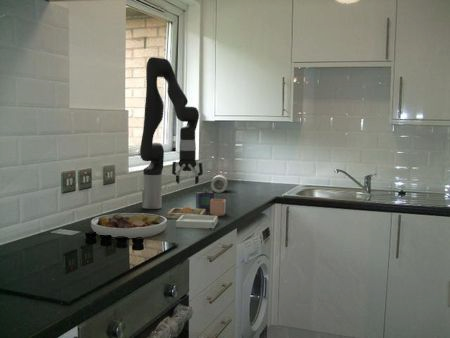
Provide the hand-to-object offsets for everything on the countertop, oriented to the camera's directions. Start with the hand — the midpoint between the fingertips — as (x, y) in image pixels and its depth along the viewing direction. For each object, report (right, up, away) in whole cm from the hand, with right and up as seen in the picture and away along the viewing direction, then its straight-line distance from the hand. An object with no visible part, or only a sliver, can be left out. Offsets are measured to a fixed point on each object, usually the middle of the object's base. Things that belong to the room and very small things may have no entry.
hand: (187, 183), depth 232 cm
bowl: (-21, -19, -32) cm, 43 cm away
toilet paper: (+14, -8, +81) cm, 83 cm away
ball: (0, -13, +1) cm, 13 cm away
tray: (+6, -17, -17) cm, 25 cm away
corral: (0, -15, +2) cm, 15 cm away
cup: (+14, -15, +6) cm, 22 cm away
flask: (+7, -14, +18) cm, 24 cm away
